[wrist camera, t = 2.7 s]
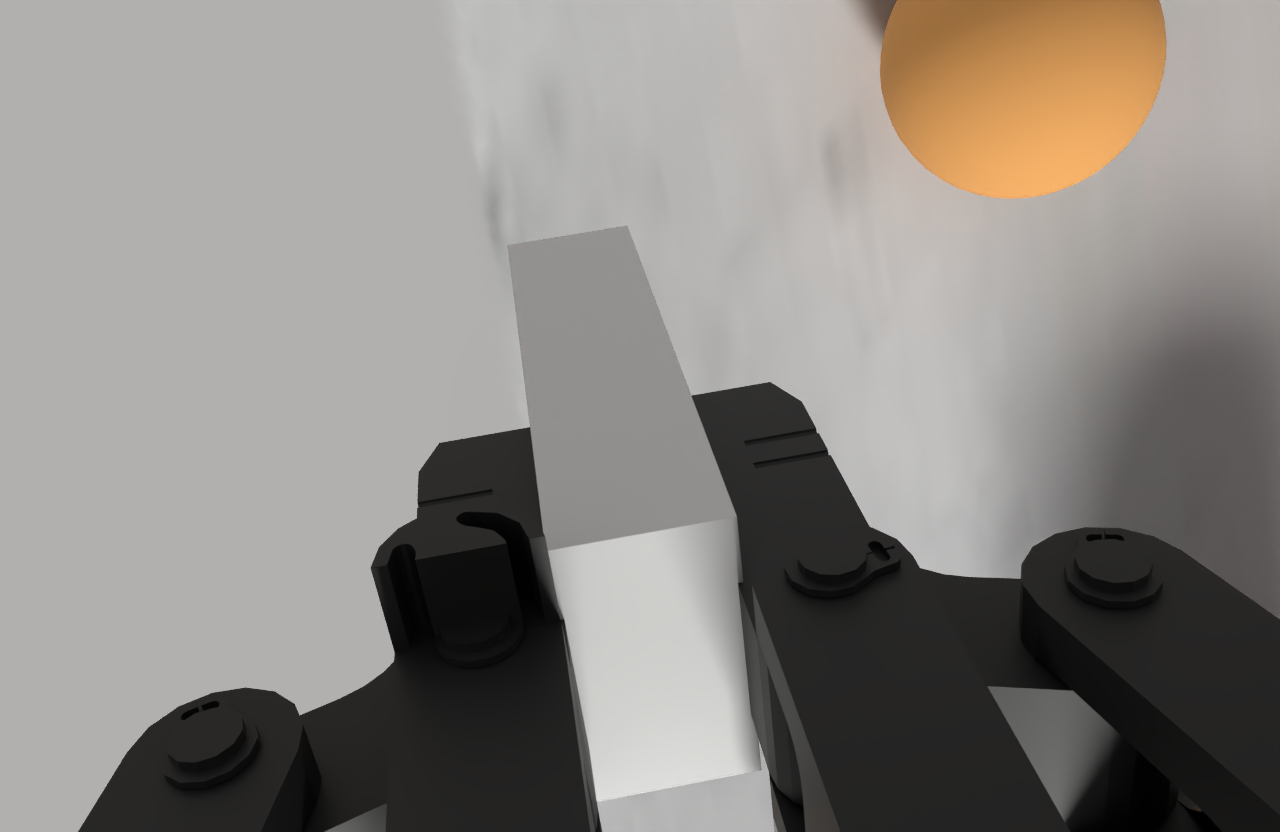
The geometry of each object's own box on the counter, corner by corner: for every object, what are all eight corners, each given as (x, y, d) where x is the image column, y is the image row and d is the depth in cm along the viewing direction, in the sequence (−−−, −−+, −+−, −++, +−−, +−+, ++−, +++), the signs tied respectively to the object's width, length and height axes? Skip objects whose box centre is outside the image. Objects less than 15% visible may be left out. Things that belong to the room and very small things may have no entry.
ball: (1096, -118, 26) (1240, -89, 21) (1081, 135, 29) (1206, 212, 24) (843, -81, 26) (931, -42, 21) (852, 171, 28) (932, 257, 23)
